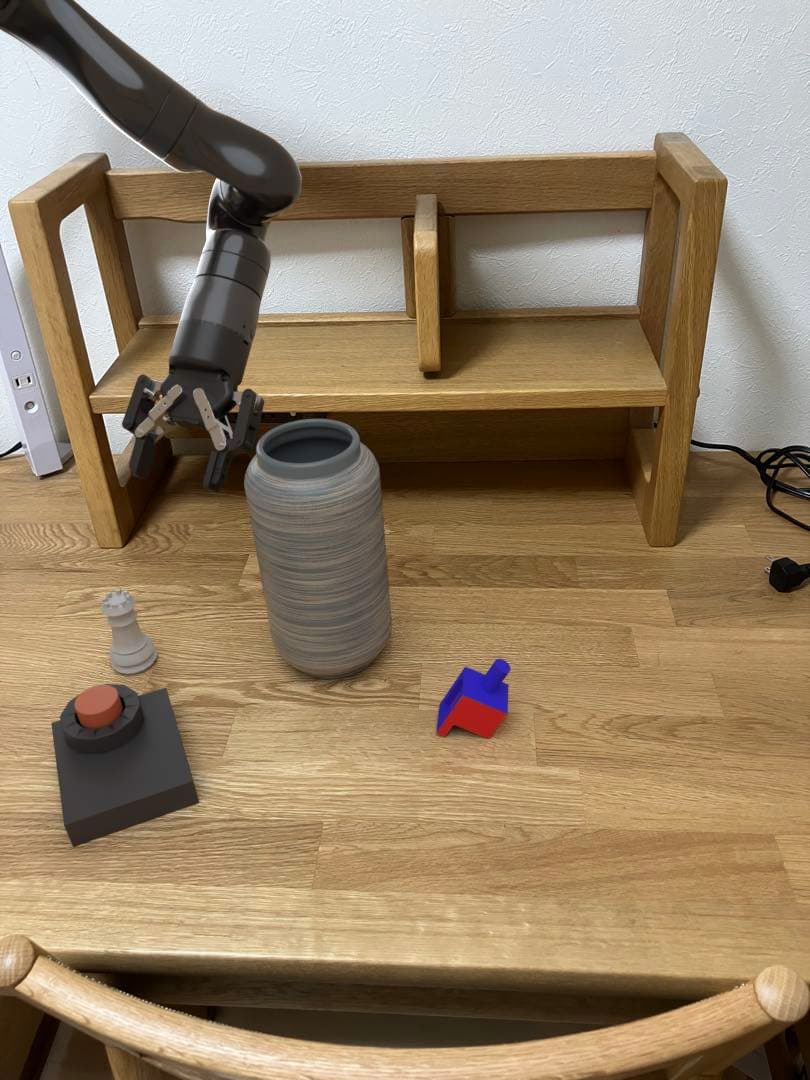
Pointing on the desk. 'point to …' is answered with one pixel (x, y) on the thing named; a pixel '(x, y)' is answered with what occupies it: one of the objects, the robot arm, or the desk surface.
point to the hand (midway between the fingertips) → (173, 483)
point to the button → (98, 706)
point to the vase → (320, 546)
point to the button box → (121, 767)
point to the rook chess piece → (127, 635)
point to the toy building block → (476, 701)
